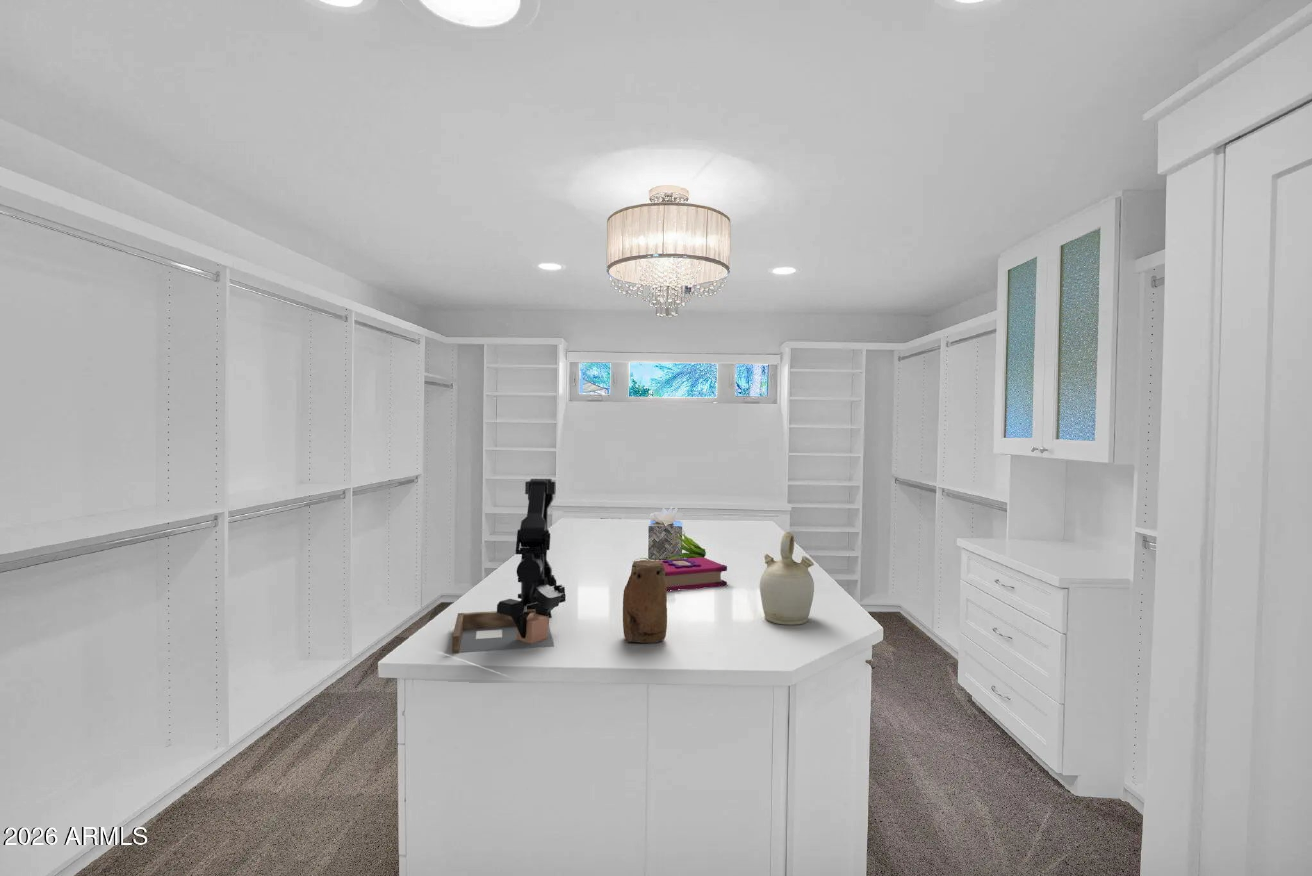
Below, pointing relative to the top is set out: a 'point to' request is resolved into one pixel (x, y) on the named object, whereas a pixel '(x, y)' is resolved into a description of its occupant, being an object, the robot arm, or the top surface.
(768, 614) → the jug
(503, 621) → the corner walls
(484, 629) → the mat
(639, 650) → the top surface
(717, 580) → the book
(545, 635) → the cube
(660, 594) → the brown carved figurine
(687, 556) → the decorative plant
